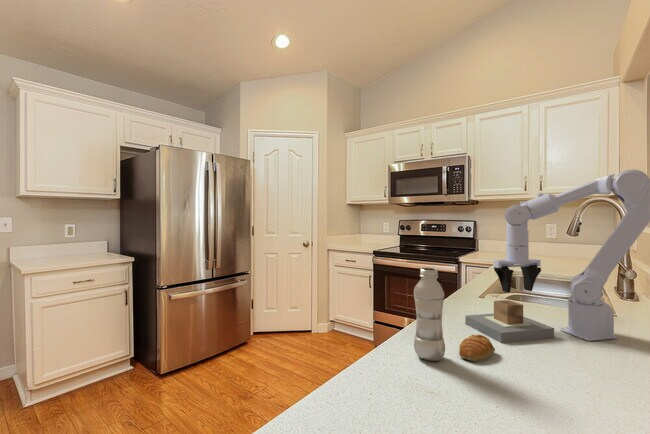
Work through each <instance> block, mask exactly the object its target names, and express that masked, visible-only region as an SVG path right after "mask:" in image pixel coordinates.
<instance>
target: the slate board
mask: <svg viewBox="0 0 650 434" xmlns="http://www.w3.org/2000/svg"><path fill="white" fill-rule="evenodd" d="M464 319H465V320H464V321H465V322H464V323H465V325H467V326H468V327H470V328H472V329H474V330H476V331H477V332H480V333H482V334H483V335H484V336H486V337H489V338H491V339H493V340H495V341H497V342H499V343H502V344H503V343H512V342H515V343H516V342H523V341H533V340H545V339H553V338H554V339H555V328H554V327H552V326H551V325H550V326H549V325H547V324H544V323H542V322H539V321H536V320H534V319H531V318H528V317H526V316H524V315H523V323H520V324H508V325H507V324H505V323H503V322H501V321H498V320H496V319H494V312H493V313H481V314H480V313H479V314H470V315H469V314H468V315H465V318H464Z"/></svg>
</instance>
